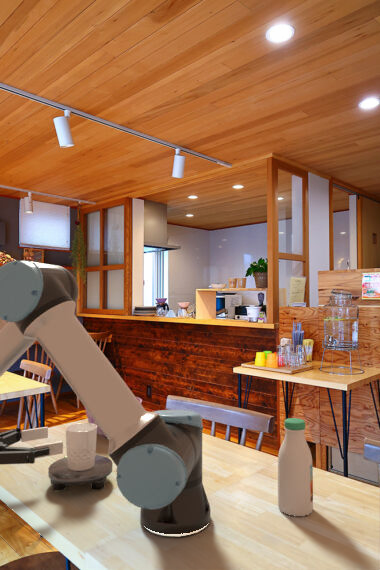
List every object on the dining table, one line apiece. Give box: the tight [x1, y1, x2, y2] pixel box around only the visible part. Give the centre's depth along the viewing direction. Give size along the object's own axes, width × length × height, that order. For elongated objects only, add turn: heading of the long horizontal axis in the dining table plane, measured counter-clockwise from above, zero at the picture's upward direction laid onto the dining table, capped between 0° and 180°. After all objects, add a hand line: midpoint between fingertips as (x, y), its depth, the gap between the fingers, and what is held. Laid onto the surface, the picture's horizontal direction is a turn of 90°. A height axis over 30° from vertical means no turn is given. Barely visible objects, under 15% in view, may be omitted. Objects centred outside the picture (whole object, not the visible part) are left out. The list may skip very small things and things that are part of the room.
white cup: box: [65, 422, 98, 471], centre depth 113 cm, size 8×8×10 cm
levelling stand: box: [47, 454, 113, 492], centre depth 114 cm, size 17×16×4 cm
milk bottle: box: [277, 417, 314, 517], centre depth 99 cm, size 8×8×20 cm
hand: (54, 439), depth 110 cm, fingers open, 13 cm apart
